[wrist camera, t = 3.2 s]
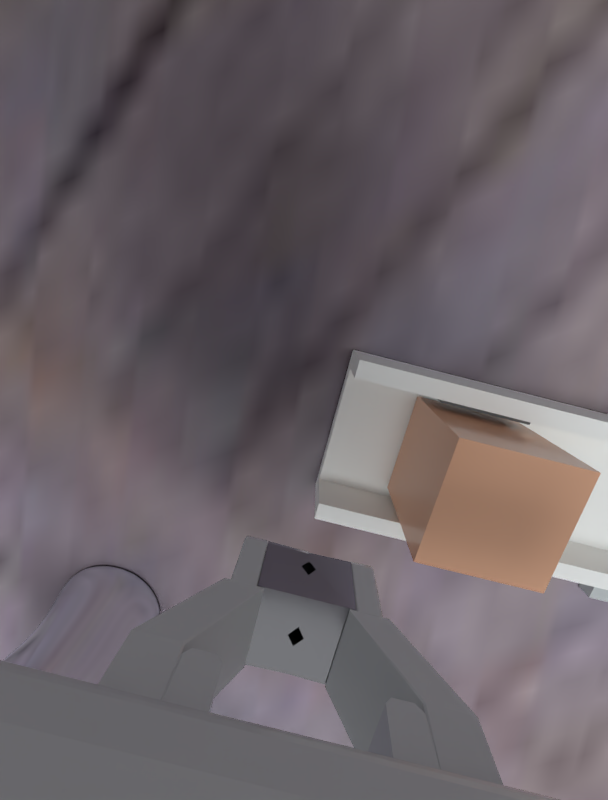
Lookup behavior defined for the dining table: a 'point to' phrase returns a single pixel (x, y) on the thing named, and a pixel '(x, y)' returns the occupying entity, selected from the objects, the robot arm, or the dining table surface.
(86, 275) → the dining table surface
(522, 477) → the block
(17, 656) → the beer glass
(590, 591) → the pad
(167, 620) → the robot arm
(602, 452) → the chute
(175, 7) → the dining table surface
